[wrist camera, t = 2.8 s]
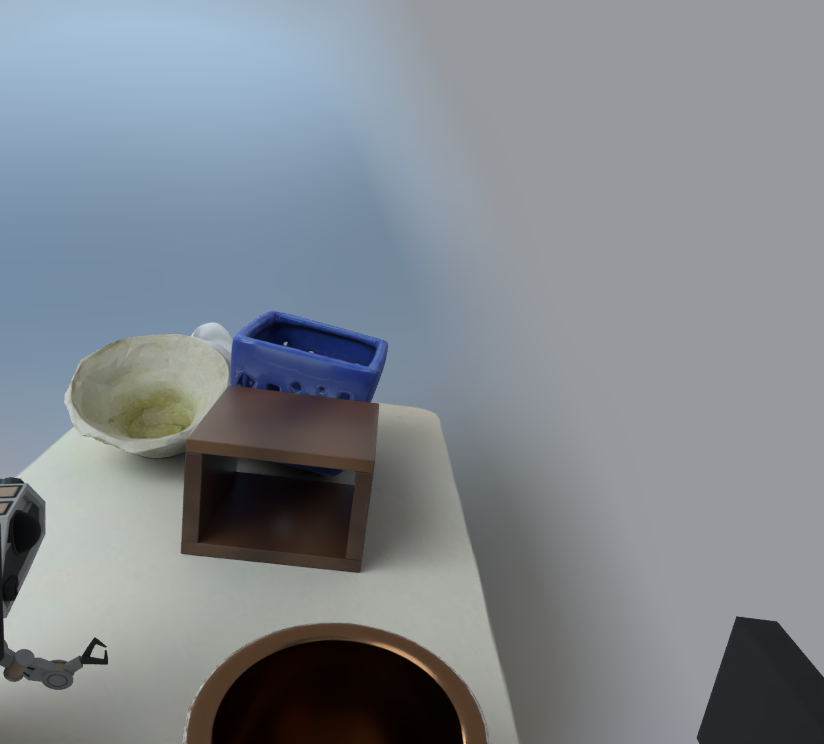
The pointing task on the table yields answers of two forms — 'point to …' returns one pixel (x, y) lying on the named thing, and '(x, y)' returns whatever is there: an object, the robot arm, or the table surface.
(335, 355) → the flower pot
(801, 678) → the robot arm
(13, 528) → the figurine
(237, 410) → the shelf
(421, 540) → the table surface
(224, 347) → the elephant figurine
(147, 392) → the bowl
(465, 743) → the planter
